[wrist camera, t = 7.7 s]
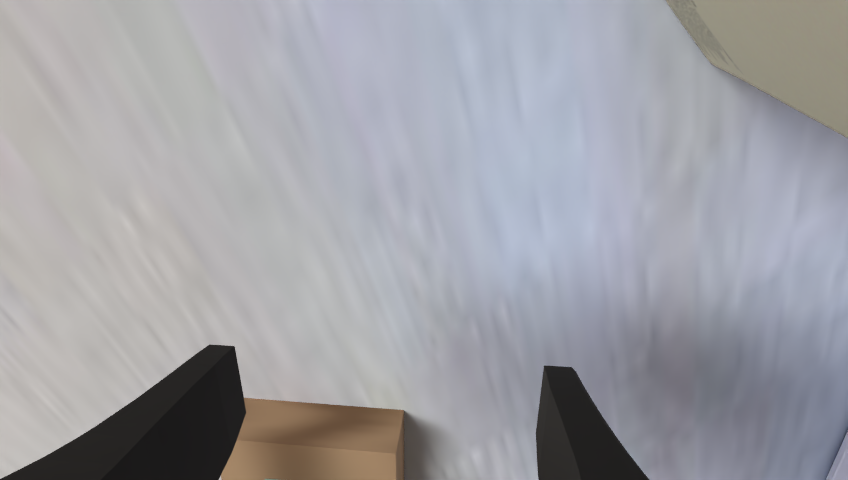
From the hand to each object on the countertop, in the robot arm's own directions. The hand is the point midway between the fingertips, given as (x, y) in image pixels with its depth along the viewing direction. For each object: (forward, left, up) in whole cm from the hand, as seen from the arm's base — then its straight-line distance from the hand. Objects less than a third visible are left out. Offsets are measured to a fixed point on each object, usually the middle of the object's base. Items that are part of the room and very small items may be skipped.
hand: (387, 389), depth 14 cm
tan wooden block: (+5, +14, -10) cm, 18 cm away
